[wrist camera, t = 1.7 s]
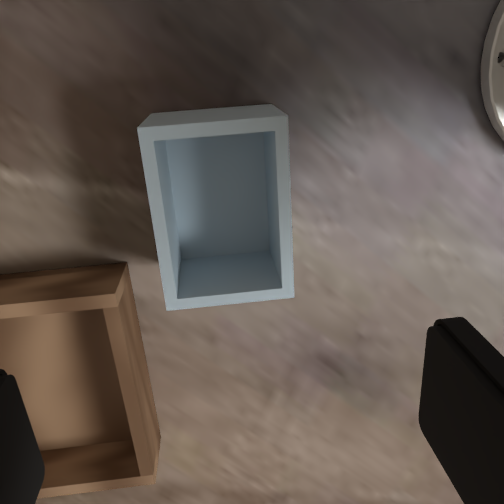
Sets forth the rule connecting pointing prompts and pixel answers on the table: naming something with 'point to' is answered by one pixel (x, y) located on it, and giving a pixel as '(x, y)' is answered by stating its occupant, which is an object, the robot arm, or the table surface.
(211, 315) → the table surface
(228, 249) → the bluegrey crate
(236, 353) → the table surface
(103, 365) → the walnut crate
